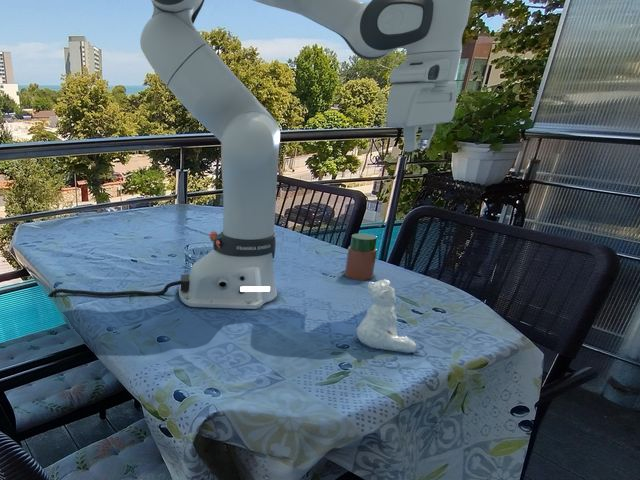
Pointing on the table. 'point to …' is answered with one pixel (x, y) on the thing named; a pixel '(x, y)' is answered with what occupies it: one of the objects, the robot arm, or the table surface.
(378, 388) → the table surface
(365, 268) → the brown jar green lid
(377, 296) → the white creature statuette
